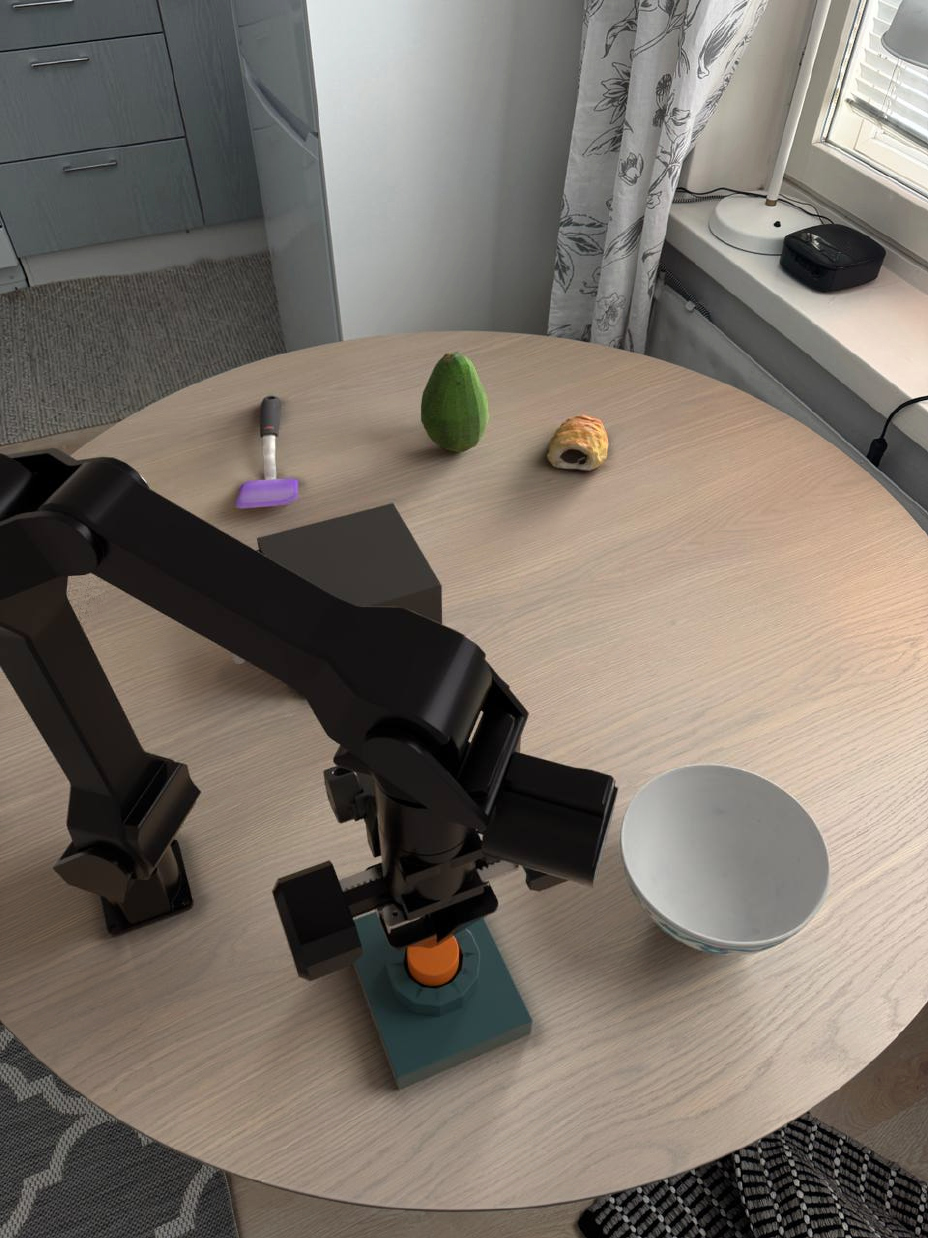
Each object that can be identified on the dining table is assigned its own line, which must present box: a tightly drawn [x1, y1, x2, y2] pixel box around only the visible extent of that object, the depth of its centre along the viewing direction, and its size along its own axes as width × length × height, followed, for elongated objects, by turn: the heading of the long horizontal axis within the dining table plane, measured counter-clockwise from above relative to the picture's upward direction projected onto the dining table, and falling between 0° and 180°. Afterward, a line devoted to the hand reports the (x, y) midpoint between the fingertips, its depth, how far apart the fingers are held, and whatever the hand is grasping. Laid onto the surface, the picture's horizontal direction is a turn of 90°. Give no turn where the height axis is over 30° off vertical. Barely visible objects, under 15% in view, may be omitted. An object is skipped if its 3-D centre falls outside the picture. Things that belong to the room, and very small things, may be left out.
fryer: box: [256, 502, 443, 624], centre depth 94 cm, size 14×13×10 cm
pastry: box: [546, 414, 610, 471], centre depth 118 cm, size 9×7×4 cm
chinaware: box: [619, 763, 832, 956], centre depth 75 cm, size 15×15×8 cm
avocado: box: [420, 351, 490, 453], centre depth 115 cm, size 8×8×12 cm
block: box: [352, 911, 533, 1091], centre depth 71 cm, size 12×10×4 cm
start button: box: [407, 936, 459, 986], centre depth 70 cm, size 4×4×2 cm
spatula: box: [234, 395, 299, 510], centre depth 117 cm, size 24×7×2 cm, turn 6°
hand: (431, 940), depth 68 cm, fingers closed
